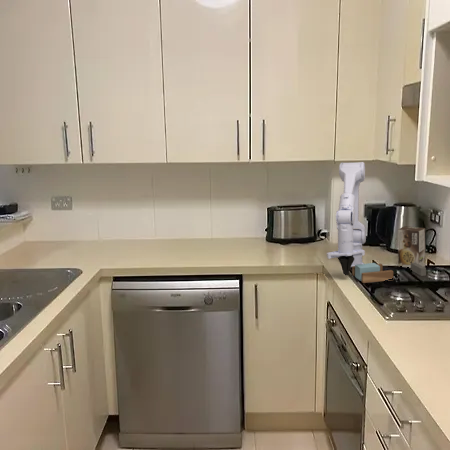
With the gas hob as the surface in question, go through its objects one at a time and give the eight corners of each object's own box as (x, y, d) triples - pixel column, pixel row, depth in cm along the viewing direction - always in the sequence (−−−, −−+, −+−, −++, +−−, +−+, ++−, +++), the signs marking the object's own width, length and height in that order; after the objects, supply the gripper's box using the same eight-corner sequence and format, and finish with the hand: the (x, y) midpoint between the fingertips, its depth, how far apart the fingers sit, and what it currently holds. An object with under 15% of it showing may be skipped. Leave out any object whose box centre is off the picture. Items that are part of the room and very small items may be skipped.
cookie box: (425, 266, 196) (426, 227, 193) (418, 269, 191) (419, 230, 188) (404, 262, 202) (404, 225, 199) (397, 266, 198) (397, 228, 195)
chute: (352, 274, 190) (352, 266, 190) (380, 271, 192) (380, 263, 191) (363, 282, 180) (363, 274, 179) (393, 279, 181) (393, 271, 181)
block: (355, 276, 188) (355, 264, 187) (374, 274, 188) (374, 262, 187) (360, 280, 183) (360, 268, 182) (379, 278, 184) (380, 266, 183)
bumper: (410, 270, 192) (410, 263, 191) (415, 269, 192) (415, 262, 191) (421, 275, 184) (421, 268, 183) (425, 275, 184) (426, 268, 183)
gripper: (330, 244, 177) (331, 279, 180) (368, 241, 178) (368, 275, 181) (324, 240, 184) (325, 273, 186) (360, 237, 185) (360, 270, 188)
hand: (345, 274), depth 184 cm, fingers closed
